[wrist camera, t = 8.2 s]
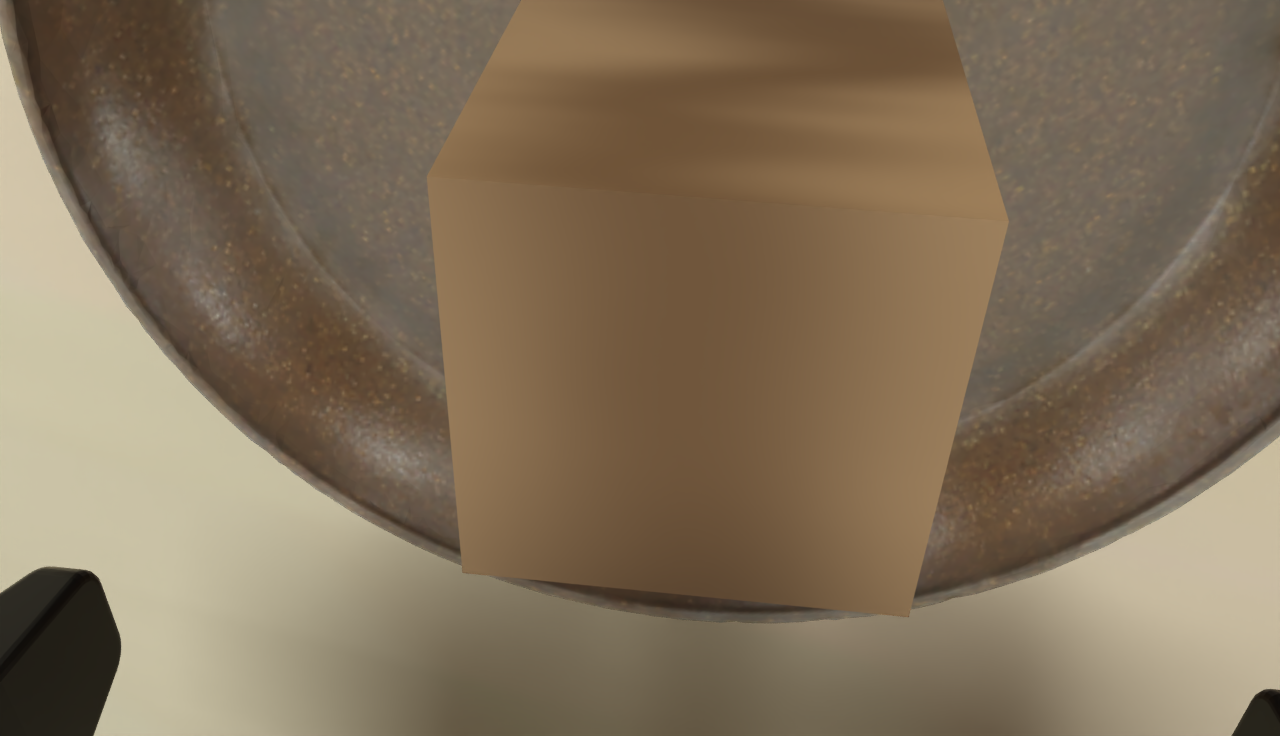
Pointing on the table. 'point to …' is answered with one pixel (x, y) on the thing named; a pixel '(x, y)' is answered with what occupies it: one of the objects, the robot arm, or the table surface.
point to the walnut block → (713, 295)
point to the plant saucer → (406, 280)
